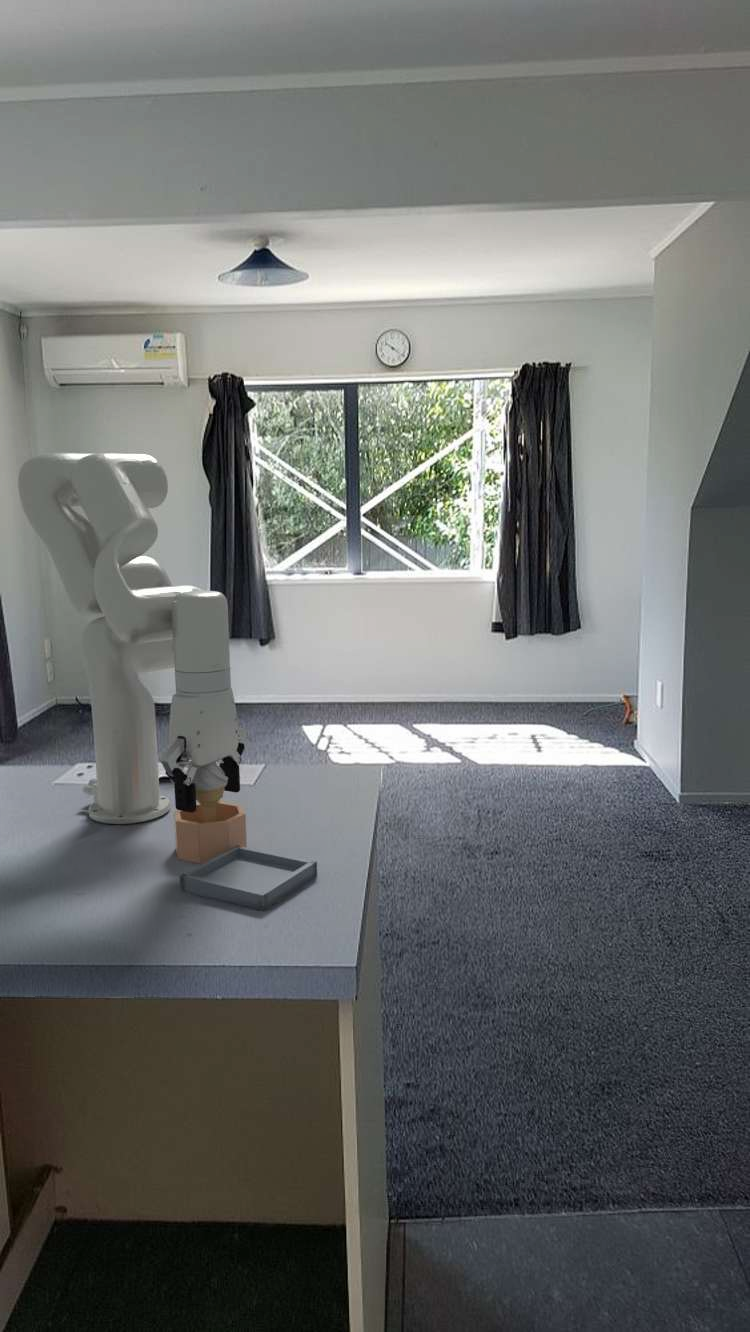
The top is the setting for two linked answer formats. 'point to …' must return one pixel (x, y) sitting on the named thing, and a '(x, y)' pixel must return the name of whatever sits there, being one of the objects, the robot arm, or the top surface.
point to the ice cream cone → (209, 788)
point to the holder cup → (209, 832)
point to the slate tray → (249, 877)
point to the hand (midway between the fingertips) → (208, 800)
